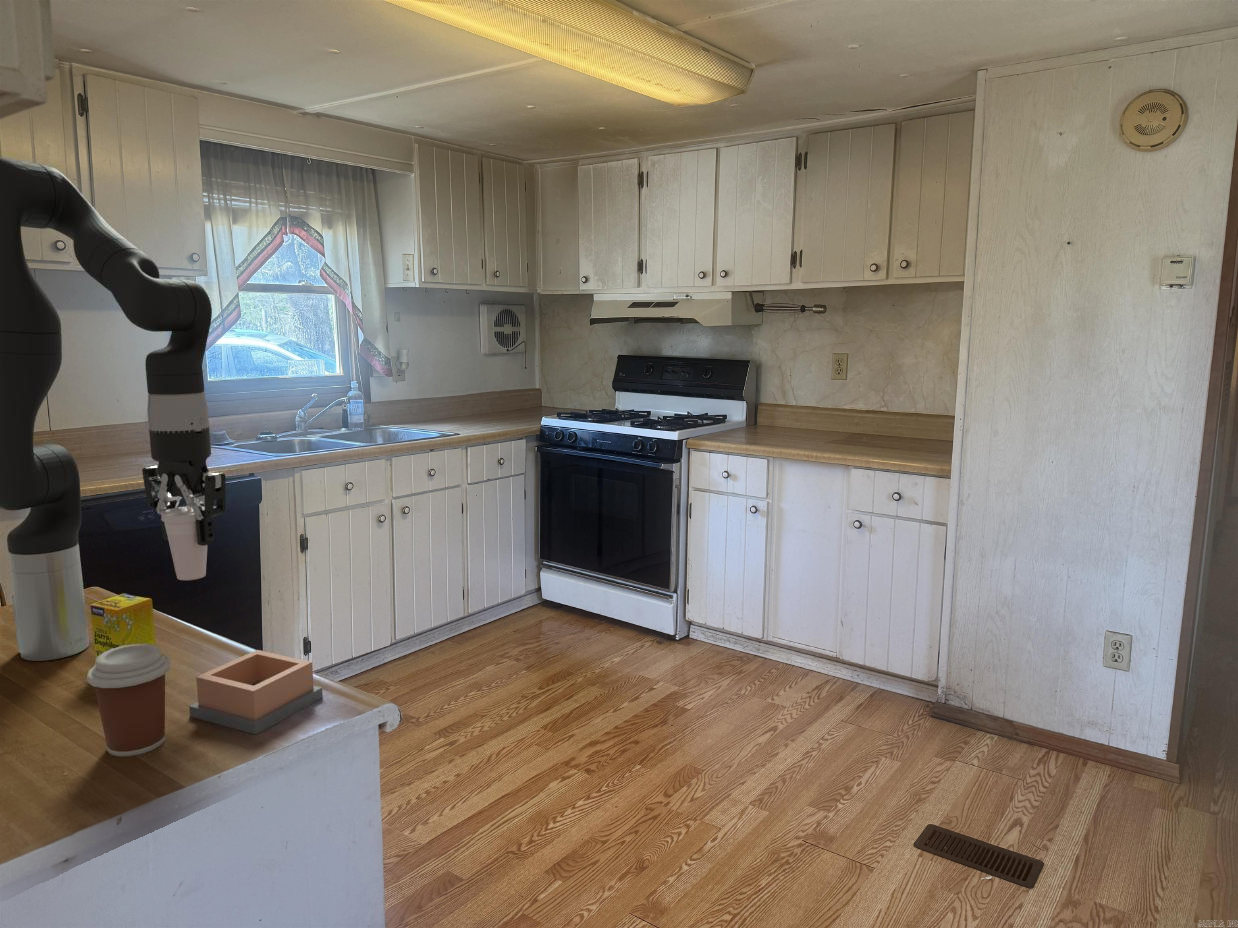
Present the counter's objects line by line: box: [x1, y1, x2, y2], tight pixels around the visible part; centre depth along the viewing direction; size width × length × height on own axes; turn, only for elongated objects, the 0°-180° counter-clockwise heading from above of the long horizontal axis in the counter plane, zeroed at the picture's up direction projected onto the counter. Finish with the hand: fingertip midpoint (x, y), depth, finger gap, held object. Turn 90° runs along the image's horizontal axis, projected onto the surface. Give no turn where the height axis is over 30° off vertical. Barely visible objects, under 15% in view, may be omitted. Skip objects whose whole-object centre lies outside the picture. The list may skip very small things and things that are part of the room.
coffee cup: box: [86, 644, 171, 757], centre depth 107 cm, size 9×9×12 cm
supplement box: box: [89, 592, 157, 660], centre depth 129 cm, size 6×6×11 cm
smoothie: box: [160, 504, 208, 581], centre depth 121 cm, size 6×6×14 cm
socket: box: [188, 649, 324, 735], centre depth 117 cm, size 12×12×6 cm
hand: (188, 541), depth 121 cm, fingers closed on smoothie, 6 cm apart
